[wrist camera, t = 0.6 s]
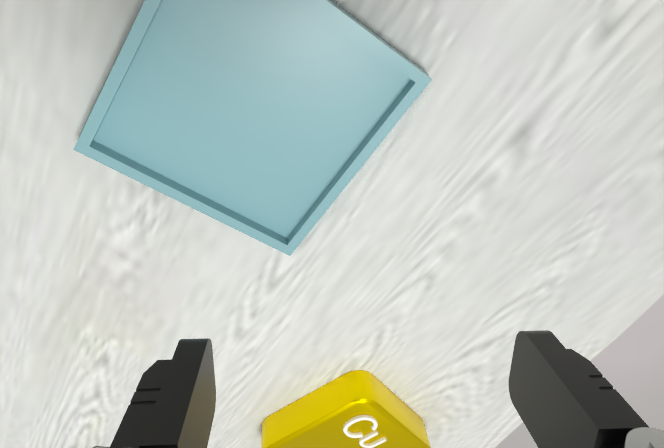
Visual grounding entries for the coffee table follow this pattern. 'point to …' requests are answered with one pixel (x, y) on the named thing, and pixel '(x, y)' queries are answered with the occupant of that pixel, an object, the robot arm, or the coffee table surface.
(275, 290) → the coffee table surface
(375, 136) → the tray
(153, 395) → the robot arm
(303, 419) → the element tile
